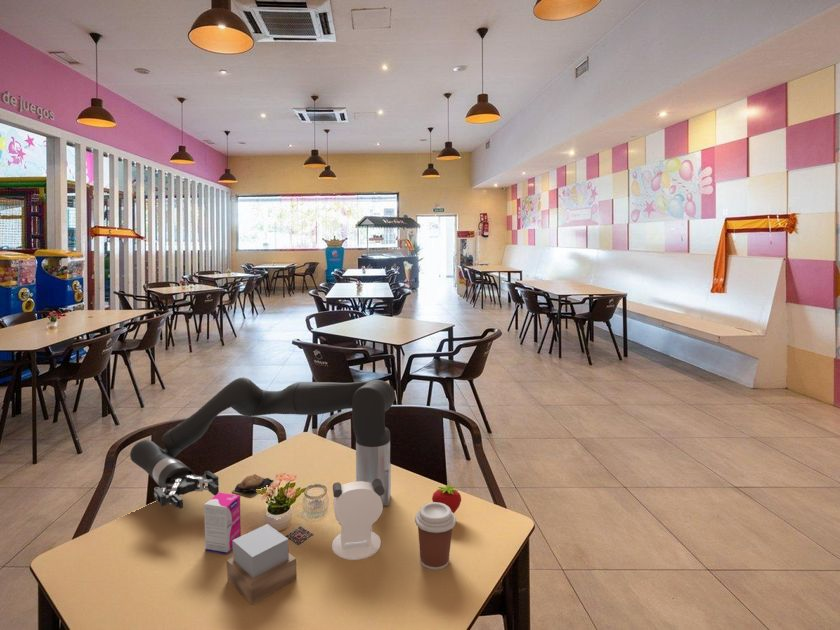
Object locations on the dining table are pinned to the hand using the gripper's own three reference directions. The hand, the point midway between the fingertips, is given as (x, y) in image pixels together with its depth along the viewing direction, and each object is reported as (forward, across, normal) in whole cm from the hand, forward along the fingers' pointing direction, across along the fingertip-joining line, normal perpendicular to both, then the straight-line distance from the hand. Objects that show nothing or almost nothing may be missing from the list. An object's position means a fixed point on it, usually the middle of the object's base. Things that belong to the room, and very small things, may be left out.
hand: (199, 497), depth 117 cm
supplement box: (+12, 0, +8) cm, 14 cm away
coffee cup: (+51, +30, +7) cm, 59 cm away
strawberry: (+42, +44, +7) cm, 62 cm away
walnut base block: (+29, 0, +8) cm, 30 cm away
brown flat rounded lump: (-9, +19, +8) cm, 23 cm away
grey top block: (+29, 0, +2) cm, 29 cm away
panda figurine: (+34, +22, +7) cm, 41 cm away
